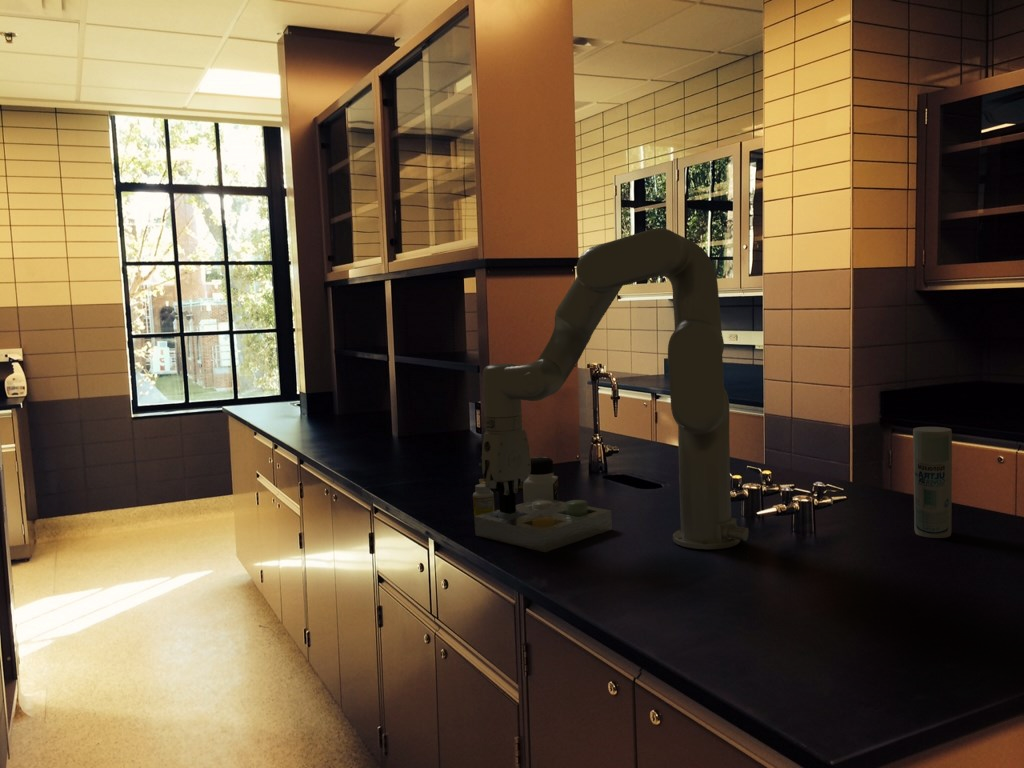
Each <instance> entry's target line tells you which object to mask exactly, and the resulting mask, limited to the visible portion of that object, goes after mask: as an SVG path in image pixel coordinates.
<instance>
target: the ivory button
mask: <svg viewBox="0 0 1024 768" xmlns="http://www.w3.org/2000/svg"><path fill="white" fill-rule="evenodd" d="M532 508H534V509H539V510H545V509H548V508H552V502H551V501H535V502H532Z"/></svg>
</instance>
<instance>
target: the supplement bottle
mask: <svg viewBox="0 0 1024 768" xmlns="http://www.w3.org/2000/svg"><path fill="white" fill-rule="evenodd" d="M474 487H475V492H473V494H472V500H473V501H472V502H473V503H472V504H473V519H474V522H475V517H474V516H478V515H481V514H485V513H489V512H492V511H496V509H495V495H494V492H493V491H492V490H491V488H487V487H486V486H485V484H480V483H479V484H476V485H475V486H474Z"/></svg>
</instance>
